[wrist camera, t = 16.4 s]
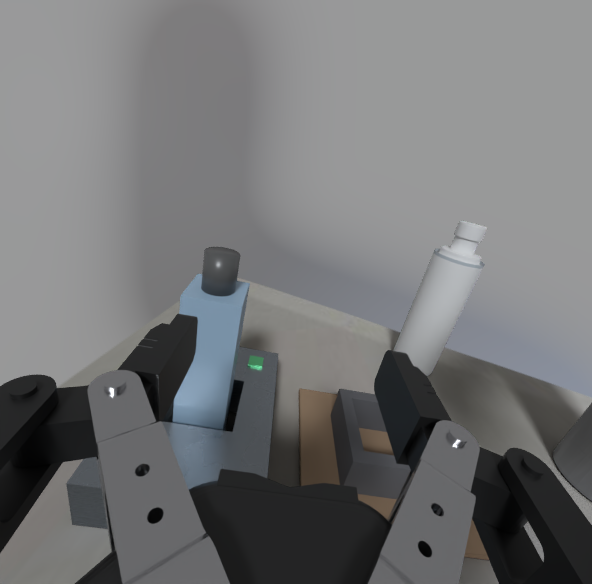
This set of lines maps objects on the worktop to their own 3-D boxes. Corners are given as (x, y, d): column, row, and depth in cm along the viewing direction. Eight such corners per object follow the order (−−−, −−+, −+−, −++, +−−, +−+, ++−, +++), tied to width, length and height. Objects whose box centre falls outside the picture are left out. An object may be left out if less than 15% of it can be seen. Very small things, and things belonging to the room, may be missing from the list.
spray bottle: (388, 347, 53) (445, 203, 43) (425, 356, 53) (491, 214, 43) (395, 370, 47) (464, 210, 37) (437, 381, 47) (517, 222, 37)
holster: (298, 392, 38) (306, 362, 37) (418, 411, 40) (431, 384, 38) (300, 536, 24) (314, 500, 22) (489, 560, 25) (517, 527, 23)
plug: (185, 412, 32) (200, 239, 24) (227, 418, 32) (255, 250, 25) (170, 449, 28) (183, 255, 20) (218, 456, 28) (248, 268, 21)
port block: (169, 365, 38) (171, 332, 36) (271, 382, 39) (278, 351, 37) (72, 524, 21) (66, 480, 20) (254, 546, 23) (265, 506, 21)
